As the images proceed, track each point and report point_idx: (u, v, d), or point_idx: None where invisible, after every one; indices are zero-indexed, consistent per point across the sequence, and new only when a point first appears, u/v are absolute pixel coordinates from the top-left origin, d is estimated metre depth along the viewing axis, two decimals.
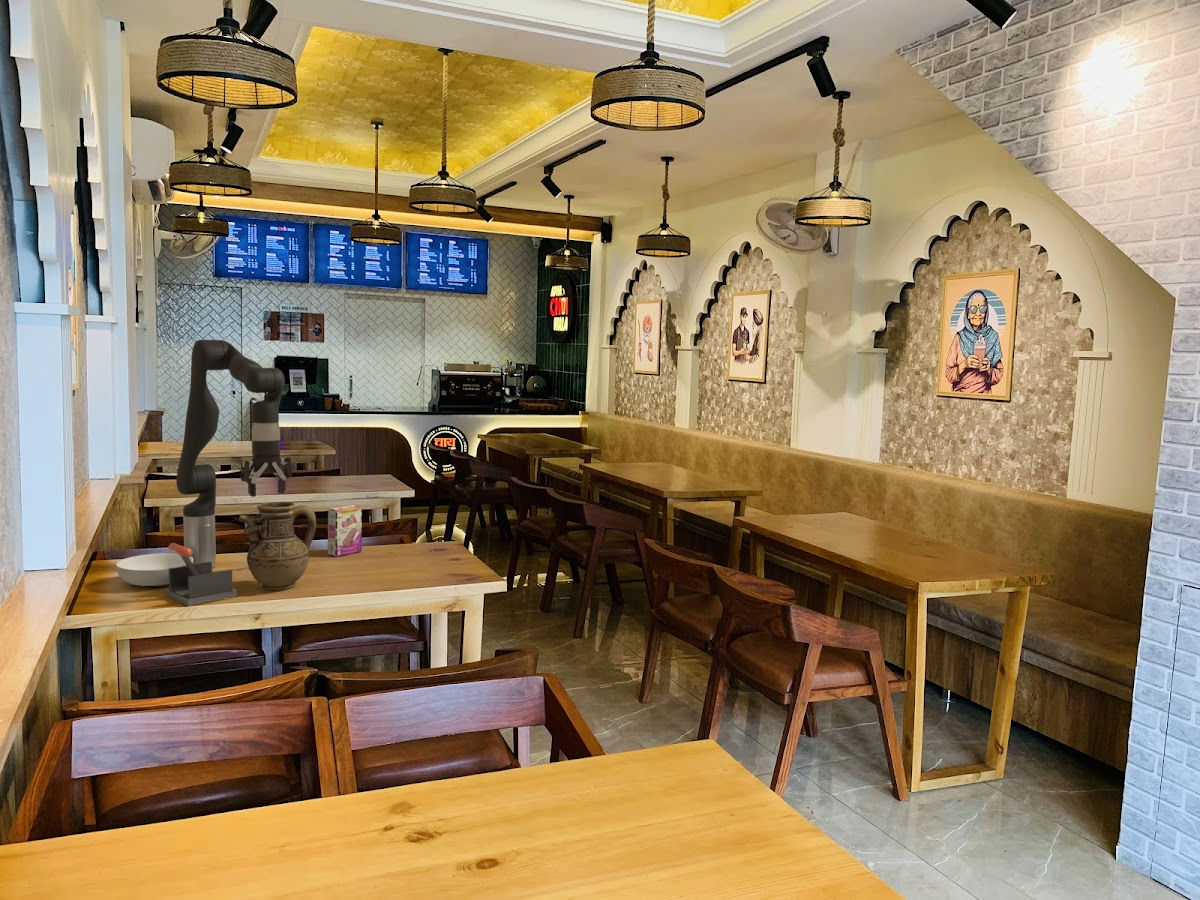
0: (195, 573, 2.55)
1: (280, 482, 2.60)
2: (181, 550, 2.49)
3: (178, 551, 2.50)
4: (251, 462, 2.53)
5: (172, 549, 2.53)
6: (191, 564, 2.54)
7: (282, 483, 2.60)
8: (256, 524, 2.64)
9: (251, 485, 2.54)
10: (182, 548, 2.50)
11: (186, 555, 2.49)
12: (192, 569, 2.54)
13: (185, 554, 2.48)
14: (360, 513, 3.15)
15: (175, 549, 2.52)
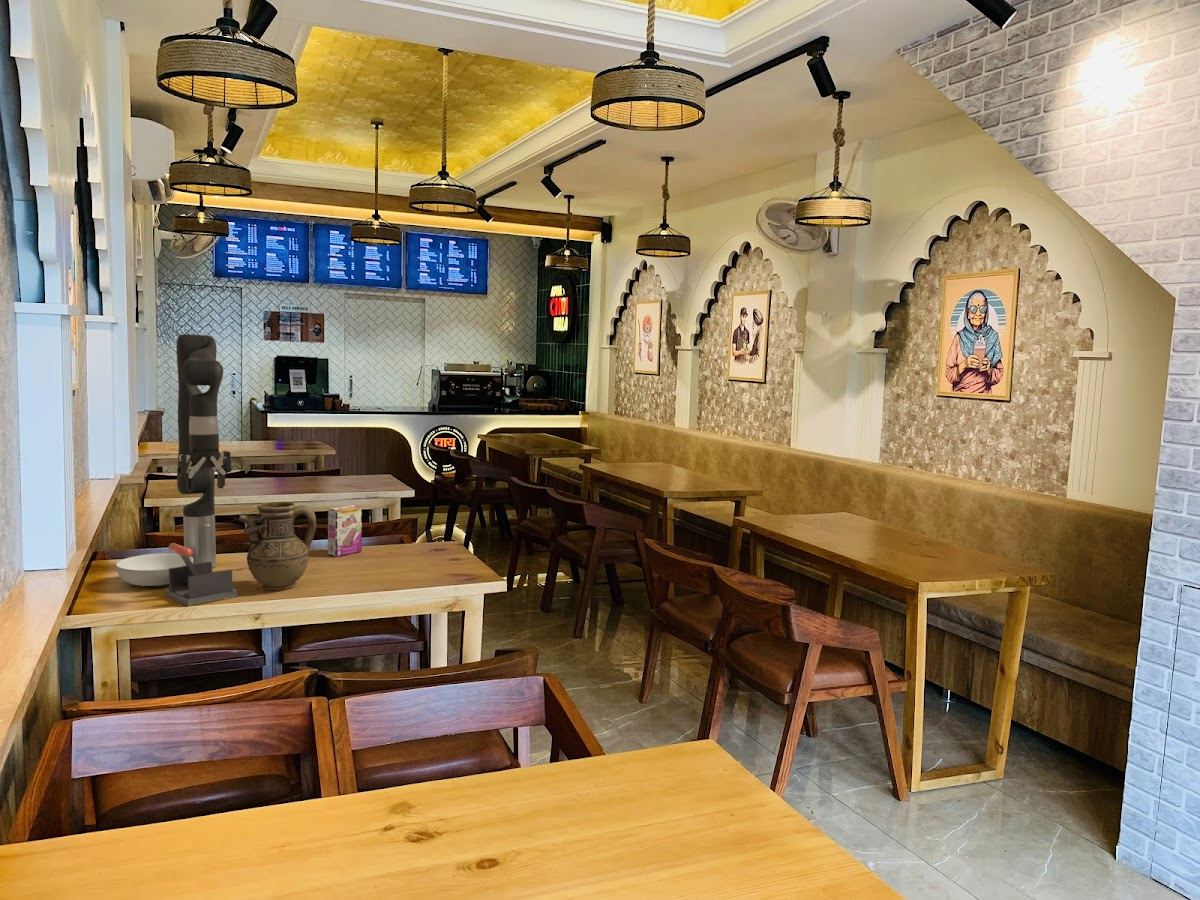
0: (195, 573, 2.55)
1: (220, 476, 2.55)
2: (181, 550, 2.49)
3: (178, 551, 2.50)
4: (188, 456, 2.47)
5: (172, 549, 2.53)
6: (191, 564, 2.54)
7: (221, 478, 2.55)
8: (256, 524, 2.64)
9: (188, 480, 2.48)
10: (182, 548, 2.50)
11: (186, 555, 2.49)
12: (192, 569, 2.54)
13: (185, 554, 2.48)
14: (360, 513, 3.15)
15: (175, 549, 2.52)
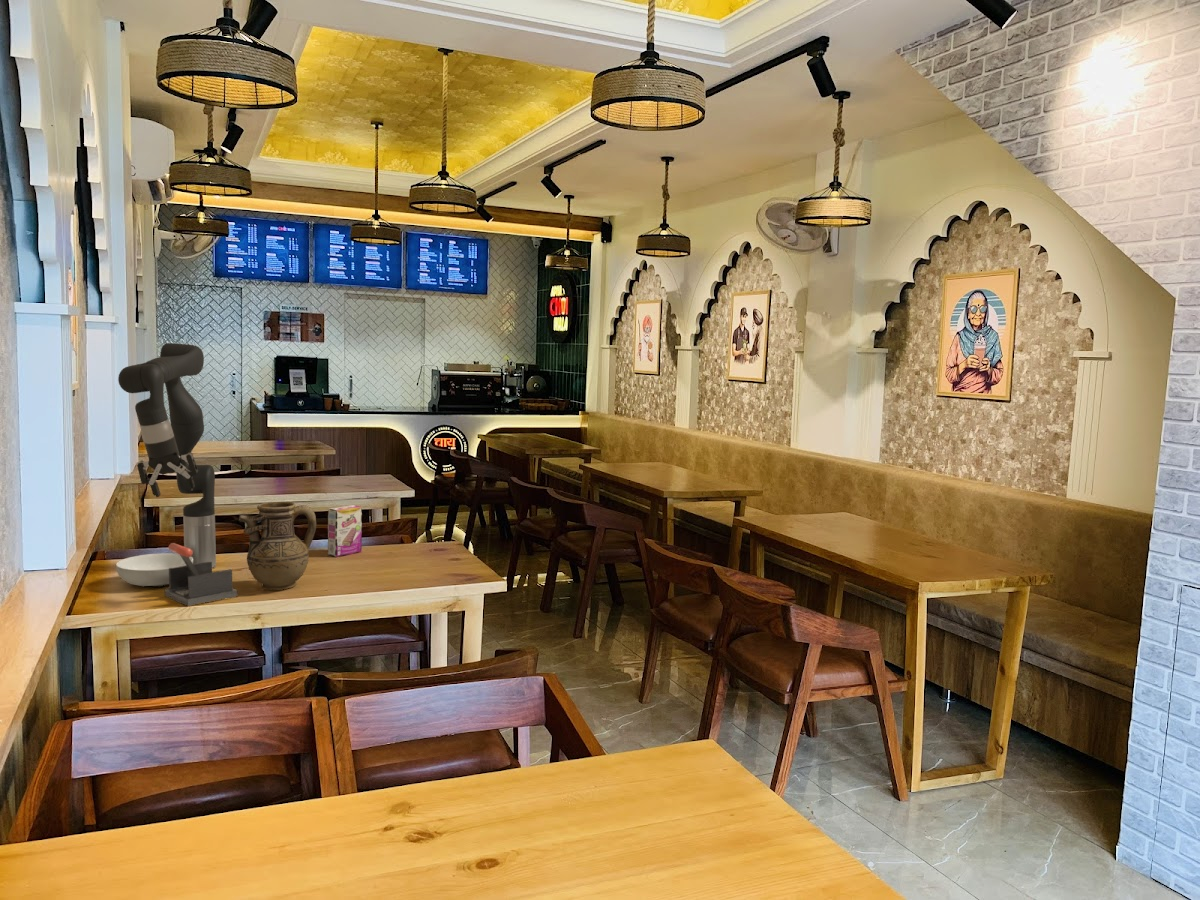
0: (195, 573, 2.55)
1: None
2: (181, 550, 2.49)
3: (178, 551, 2.50)
4: (146, 463, 2.43)
5: (172, 549, 2.53)
6: (191, 564, 2.54)
7: (187, 481, 2.46)
8: (256, 524, 2.64)
9: (151, 486, 2.45)
10: (182, 548, 2.50)
11: (186, 555, 2.49)
12: (192, 569, 2.54)
13: (185, 554, 2.48)
14: (360, 513, 3.15)
15: (175, 549, 2.52)
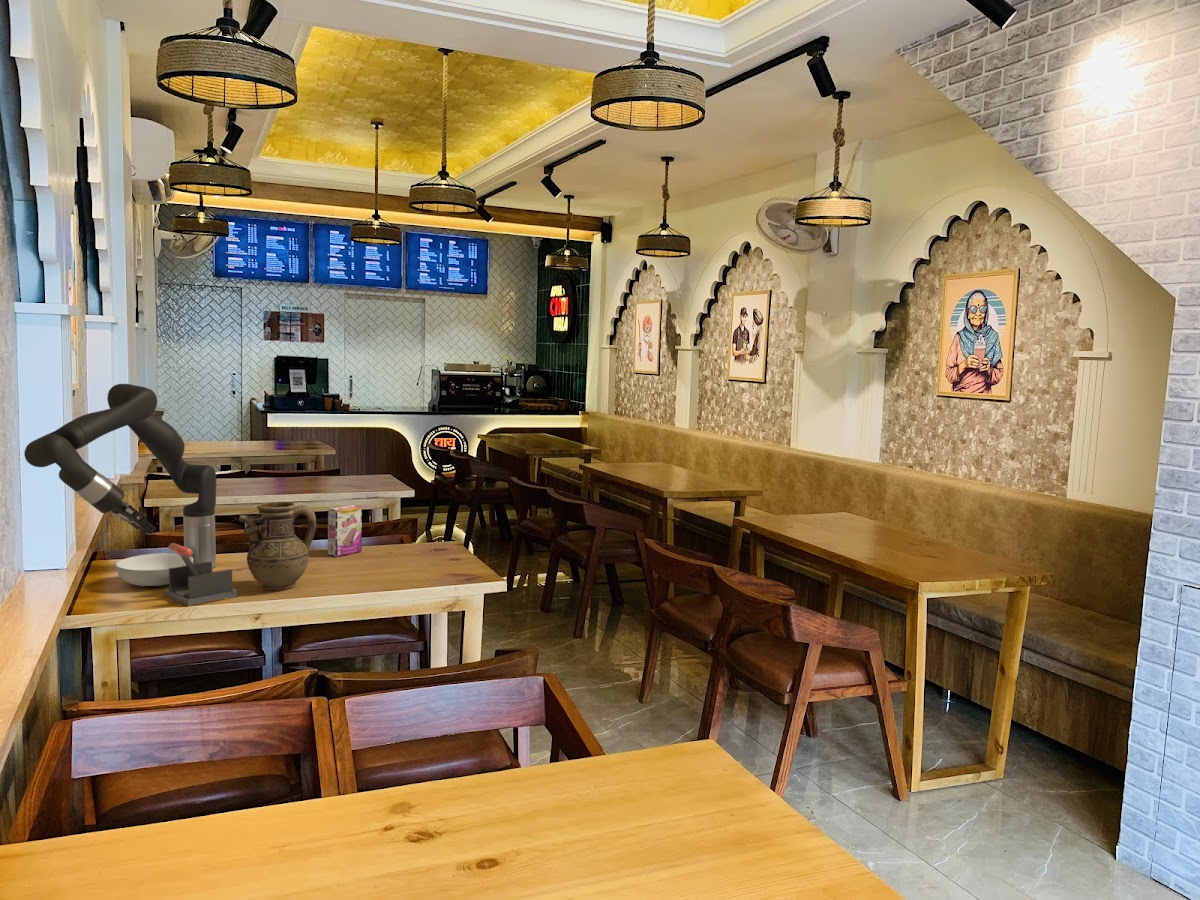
0: (195, 573, 2.55)
1: None
2: (181, 550, 2.49)
3: (178, 551, 2.50)
4: None
5: (172, 549, 2.53)
6: (191, 564, 2.54)
7: (142, 527, 2.40)
8: (256, 524, 2.64)
9: (128, 521, 2.46)
10: (182, 548, 2.50)
11: (186, 555, 2.49)
12: (192, 569, 2.54)
13: (185, 554, 2.48)
14: (360, 513, 3.15)
15: (175, 549, 2.52)
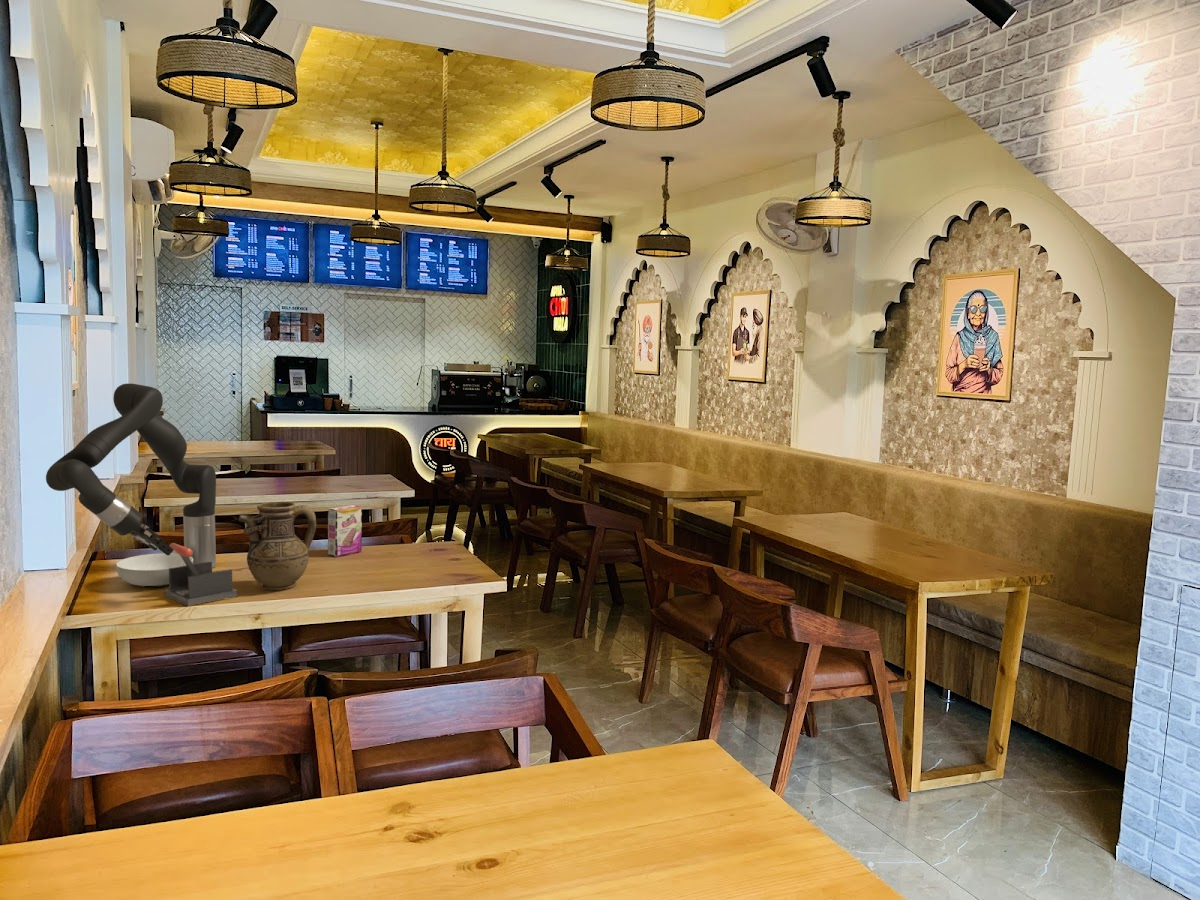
0: (195, 573, 2.55)
1: None
2: (181, 550, 2.49)
3: (178, 551, 2.50)
4: None
5: None
6: (191, 564, 2.54)
7: (159, 549, 2.44)
8: (256, 524, 2.64)
9: None
10: (182, 548, 2.50)
11: (186, 555, 2.49)
12: (192, 569, 2.54)
13: (185, 554, 2.48)
14: (360, 513, 3.15)
15: (175, 549, 2.52)
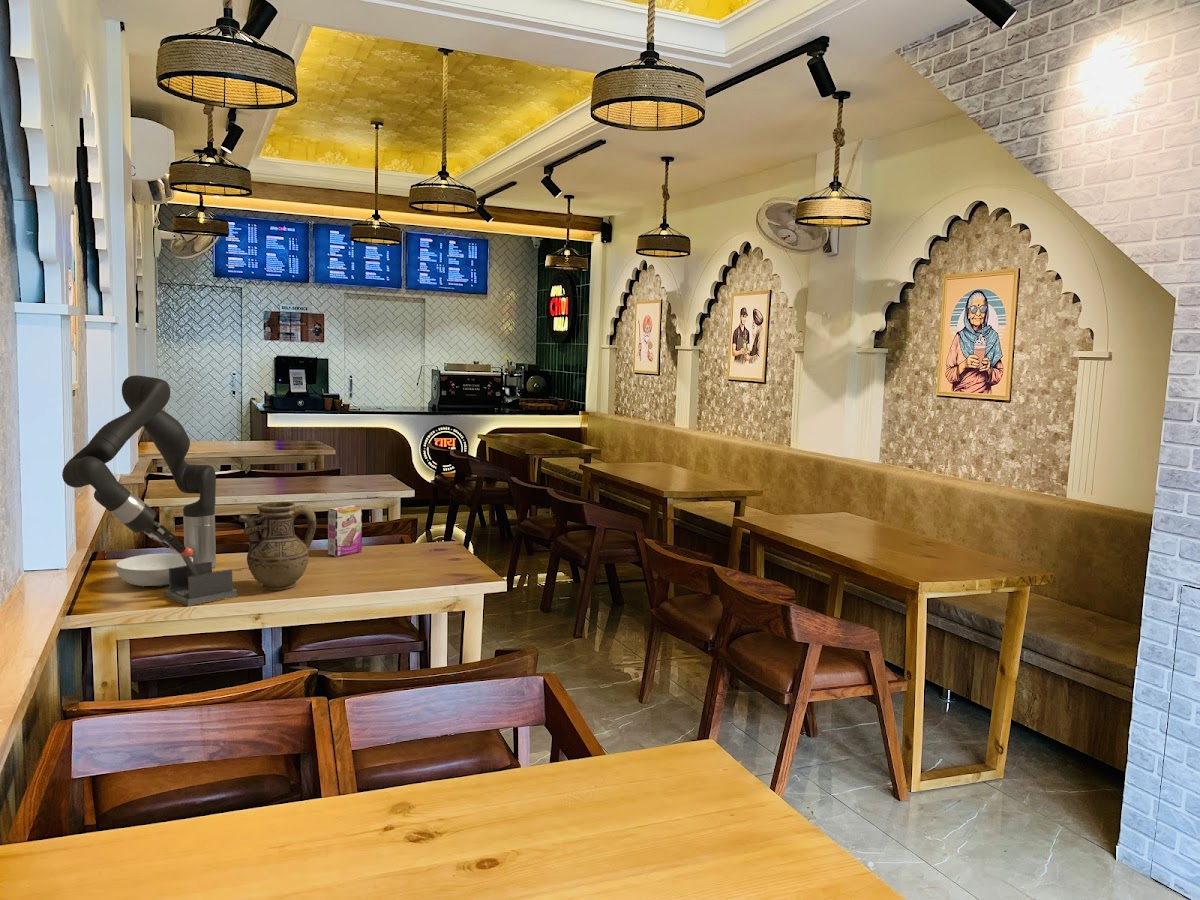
0: (195, 573, 2.55)
1: None
2: None
3: None
4: None
5: (173, 549, 2.53)
6: (191, 564, 2.54)
7: (172, 547, 2.46)
8: (256, 524, 2.64)
9: (158, 540, 2.53)
10: None
11: (187, 555, 2.49)
12: (192, 569, 2.54)
13: (186, 554, 2.48)
14: (360, 513, 3.15)
15: None
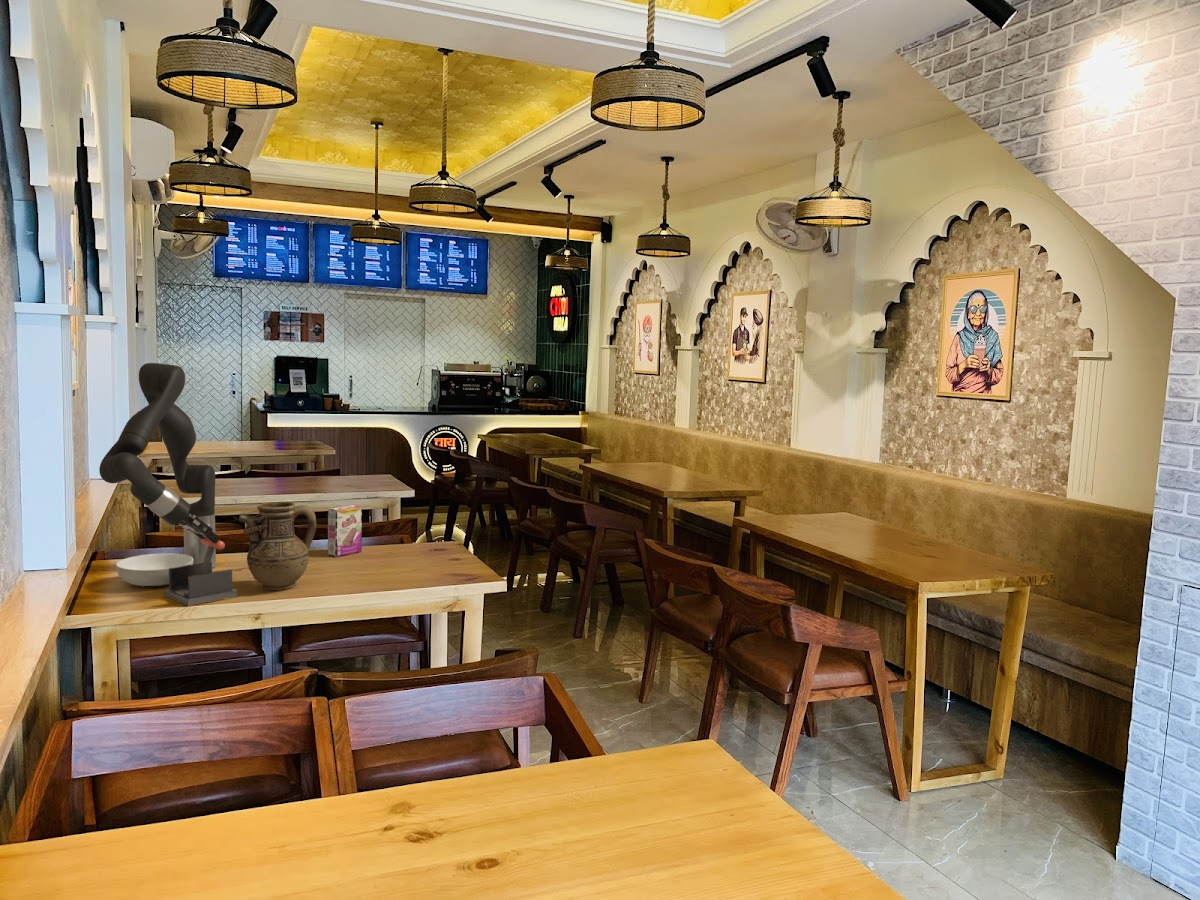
0: (205, 570, 2.57)
1: None
2: None
3: None
4: None
5: (205, 539, 2.60)
6: (209, 560, 2.58)
7: (207, 537, 2.53)
8: (256, 524, 2.64)
9: (193, 531, 2.60)
10: None
11: (217, 546, 2.55)
12: (206, 565, 2.57)
13: (218, 544, 2.55)
14: (360, 513, 3.15)
15: None
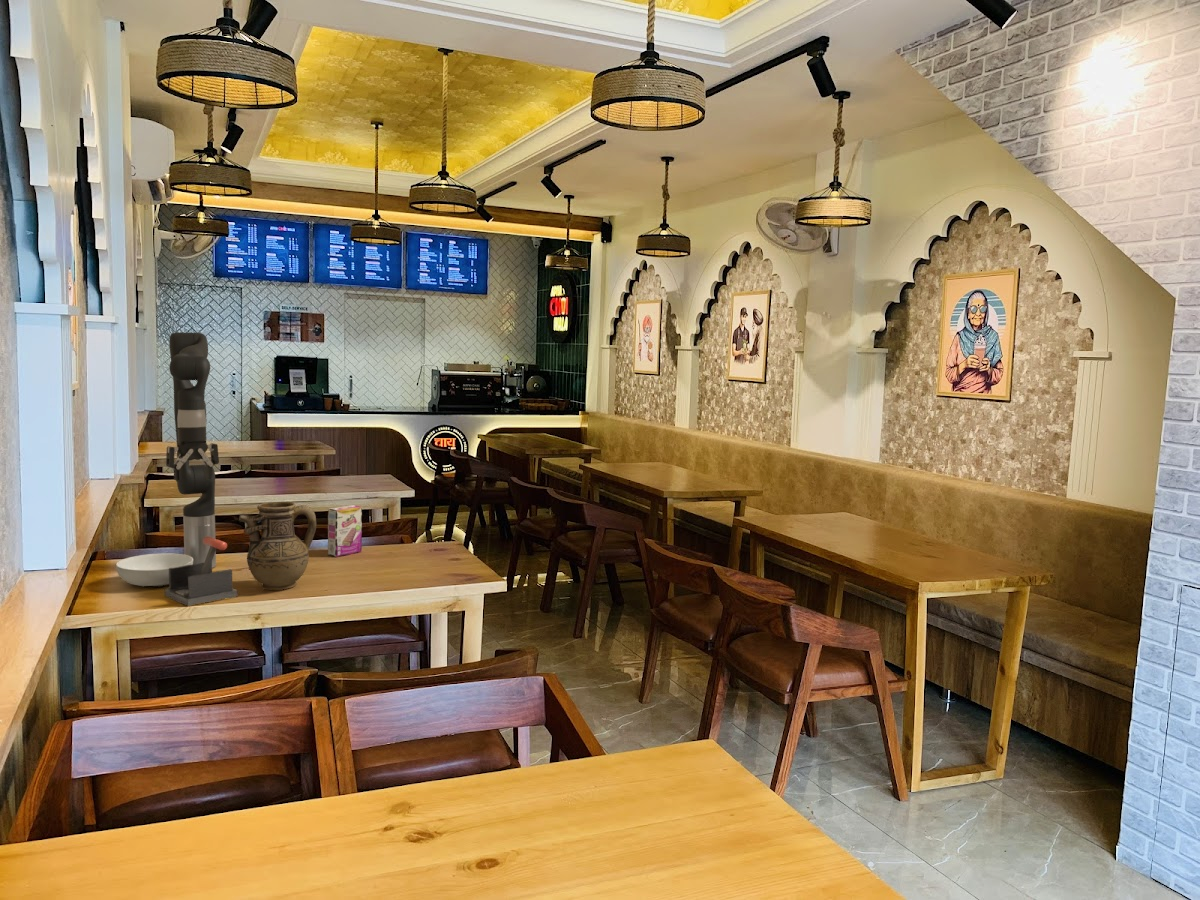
0: (205, 570, 2.57)
1: (207, 468, 2.65)
2: (219, 541, 2.57)
3: (214, 541, 2.58)
4: (176, 448, 2.58)
5: (208, 539, 2.60)
6: (210, 561, 2.58)
7: (209, 469, 2.65)
8: (256, 524, 2.64)
9: (176, 471, 2.58)
10: None
11: (220, 546, 2.56)
12: (207, 565, 2.58)
13: (220, 544, 2.56)
14: (360, 513, 3.15)
15: (212, 539, 2.59)
